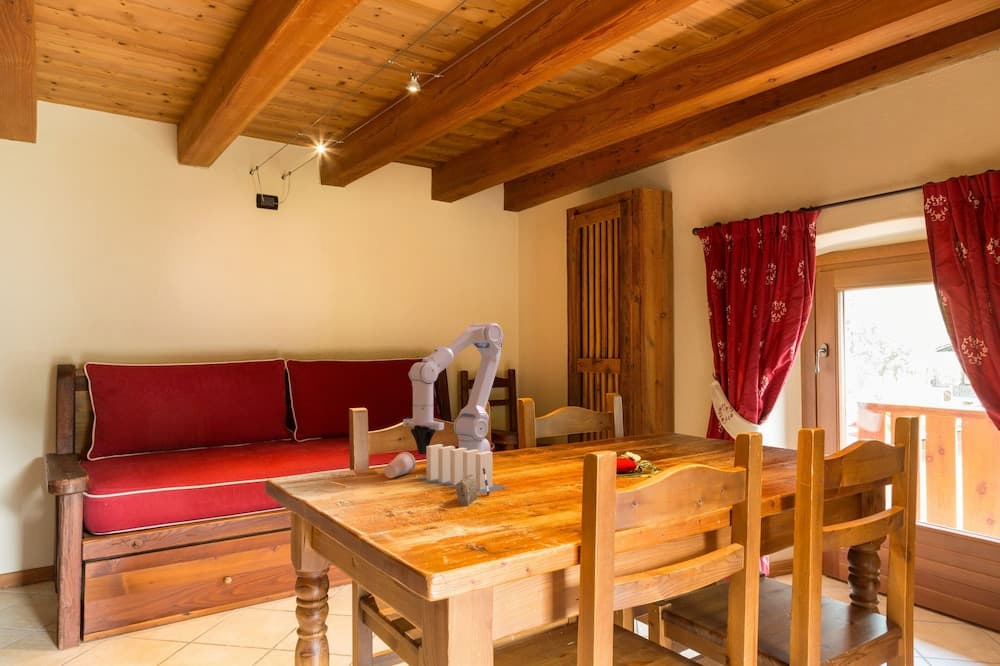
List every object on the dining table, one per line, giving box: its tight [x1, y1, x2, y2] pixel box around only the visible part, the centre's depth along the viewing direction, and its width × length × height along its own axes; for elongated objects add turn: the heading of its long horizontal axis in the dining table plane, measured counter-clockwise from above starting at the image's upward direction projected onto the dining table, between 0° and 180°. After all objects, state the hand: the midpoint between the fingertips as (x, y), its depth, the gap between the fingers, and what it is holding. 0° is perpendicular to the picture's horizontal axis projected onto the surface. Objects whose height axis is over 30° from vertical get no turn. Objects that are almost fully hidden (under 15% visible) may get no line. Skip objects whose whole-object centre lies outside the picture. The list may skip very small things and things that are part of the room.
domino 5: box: [476, 450, 494, 490], centre depth 164 cm, size 2×5×9 cm, turn 140°
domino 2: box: [438, 445, 456, 482], centre depth 172 cm, size 2×5×9 cm, turn 141°
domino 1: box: [425, 443, 444, 480], centre depth 175 cm, size 2×5×9 cm, turn 141°
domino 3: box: [450, 447, 467, 485], centre depth 170 cm, size 2×5×9 cm, turn 140°
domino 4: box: [463, 449, 480, 481], centre depth 167 cm, size 2×5×9 cm, turn 140°
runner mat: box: [411, 475, 508, 495], centre depth 170 cm, size 10×26×1 cm, turn 50°
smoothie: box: [383, 451, 417, 479], centre depth 180 cm, size 6×6×14 cm
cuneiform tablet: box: [455, 468, 491, 507], centre depth 152 cm, size 7×4×12 cm
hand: (423, 453), depth 178 cm, fingers closed
